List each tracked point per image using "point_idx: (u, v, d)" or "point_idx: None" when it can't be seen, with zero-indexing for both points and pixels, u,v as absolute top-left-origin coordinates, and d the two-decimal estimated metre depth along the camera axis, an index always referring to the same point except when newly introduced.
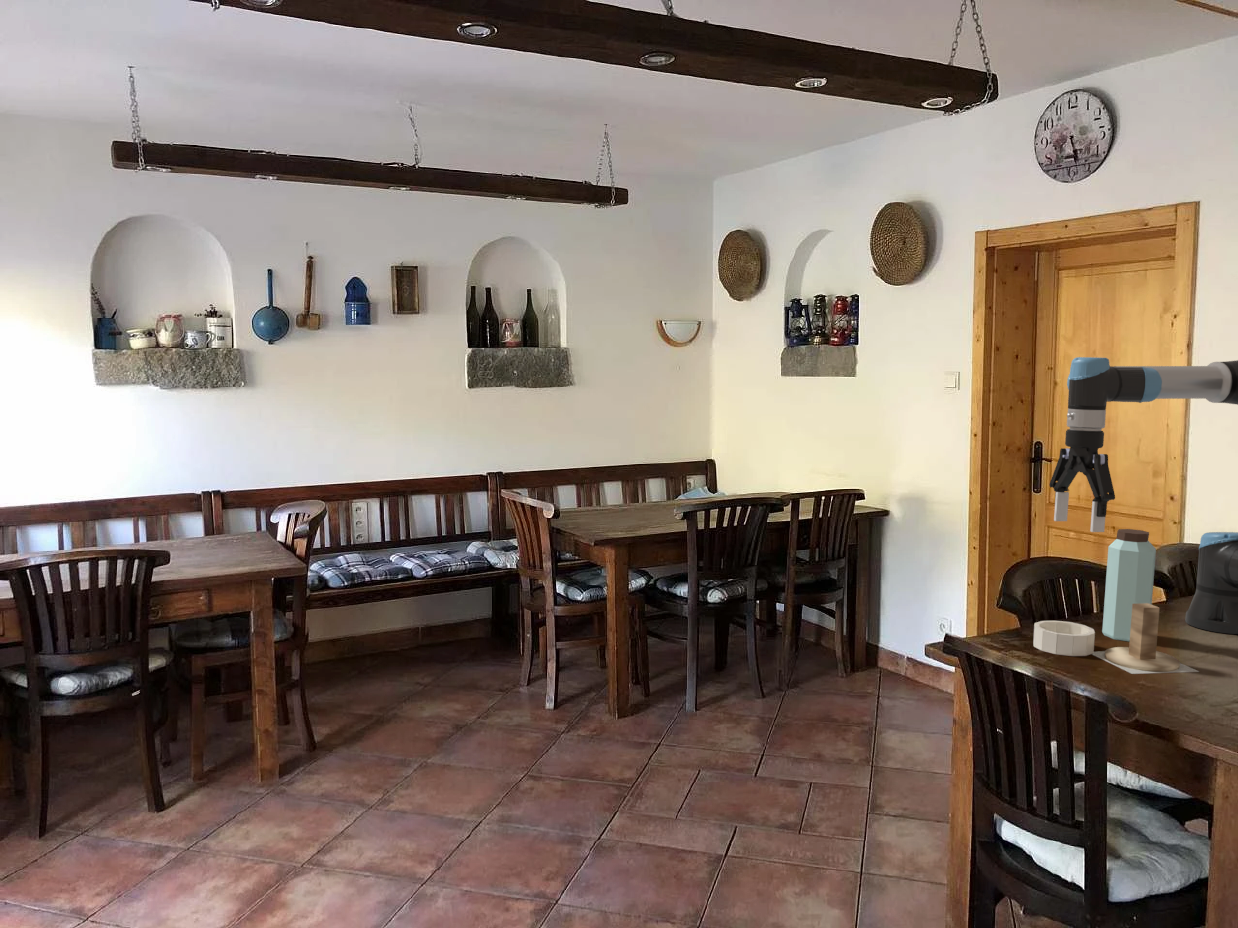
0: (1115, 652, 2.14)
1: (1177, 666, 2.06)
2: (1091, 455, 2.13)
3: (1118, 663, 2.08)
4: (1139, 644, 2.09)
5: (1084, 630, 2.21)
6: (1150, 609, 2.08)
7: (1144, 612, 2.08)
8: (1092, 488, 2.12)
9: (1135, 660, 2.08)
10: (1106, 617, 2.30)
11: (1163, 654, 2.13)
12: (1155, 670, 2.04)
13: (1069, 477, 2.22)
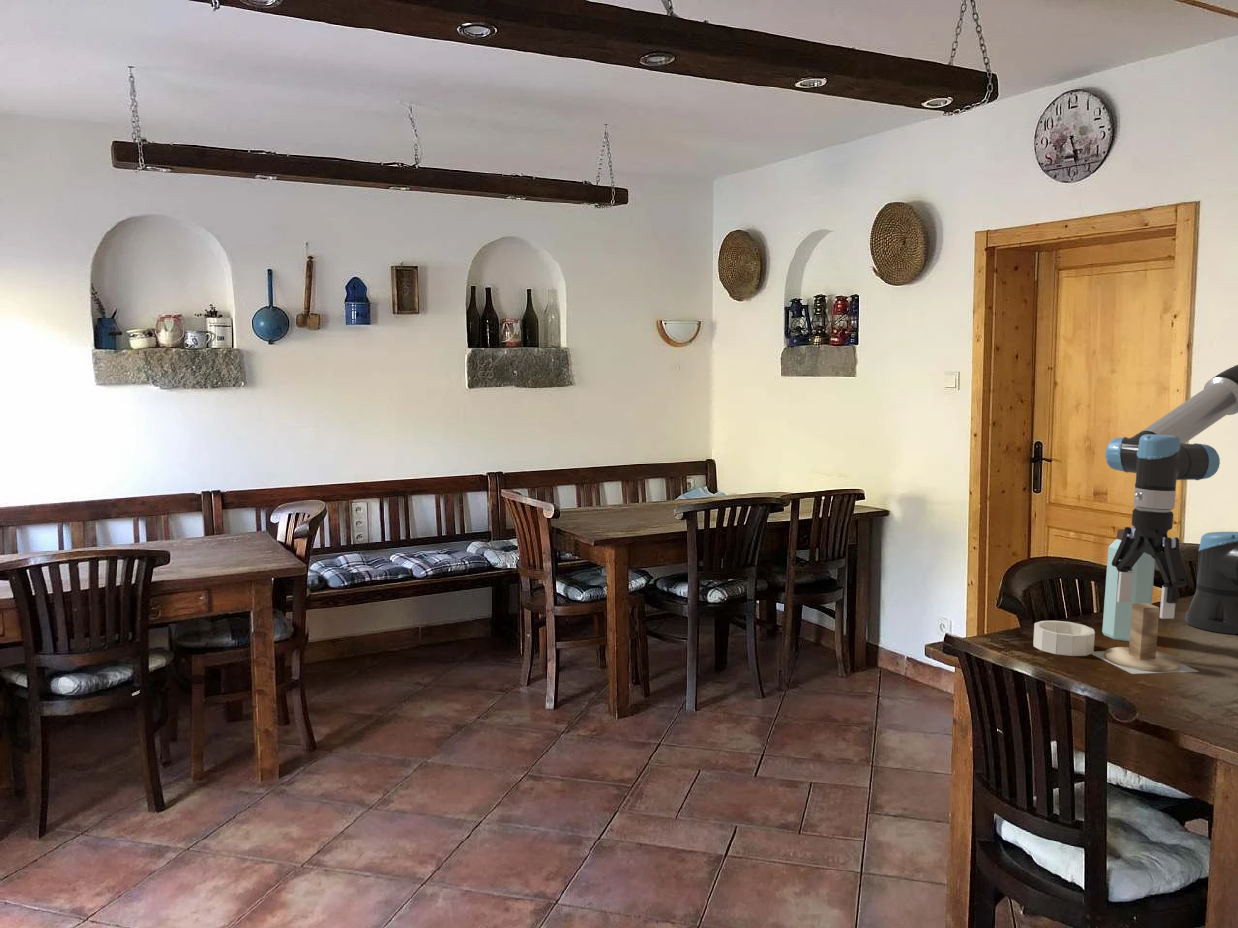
0: (1115, 652, 2.14)
1: (1177, 666, 2.06)
2: (1160, 538, 2.04)
3: (1118, 663, 2.08)
4: (1139, 644, 2.09)
5: (1084, 630, 2.21)
6: (1150, 609, 2.08)
7: (1144, 612, 2.08)
8: (1161, 572, 2.03)
9: (1135, 660, 2.08)
10: (1106, 617, 2.30)
11: (1163, 654, 2.13)
12: (1155, 670, 2.04)
13: (1134, 557, 2.13)
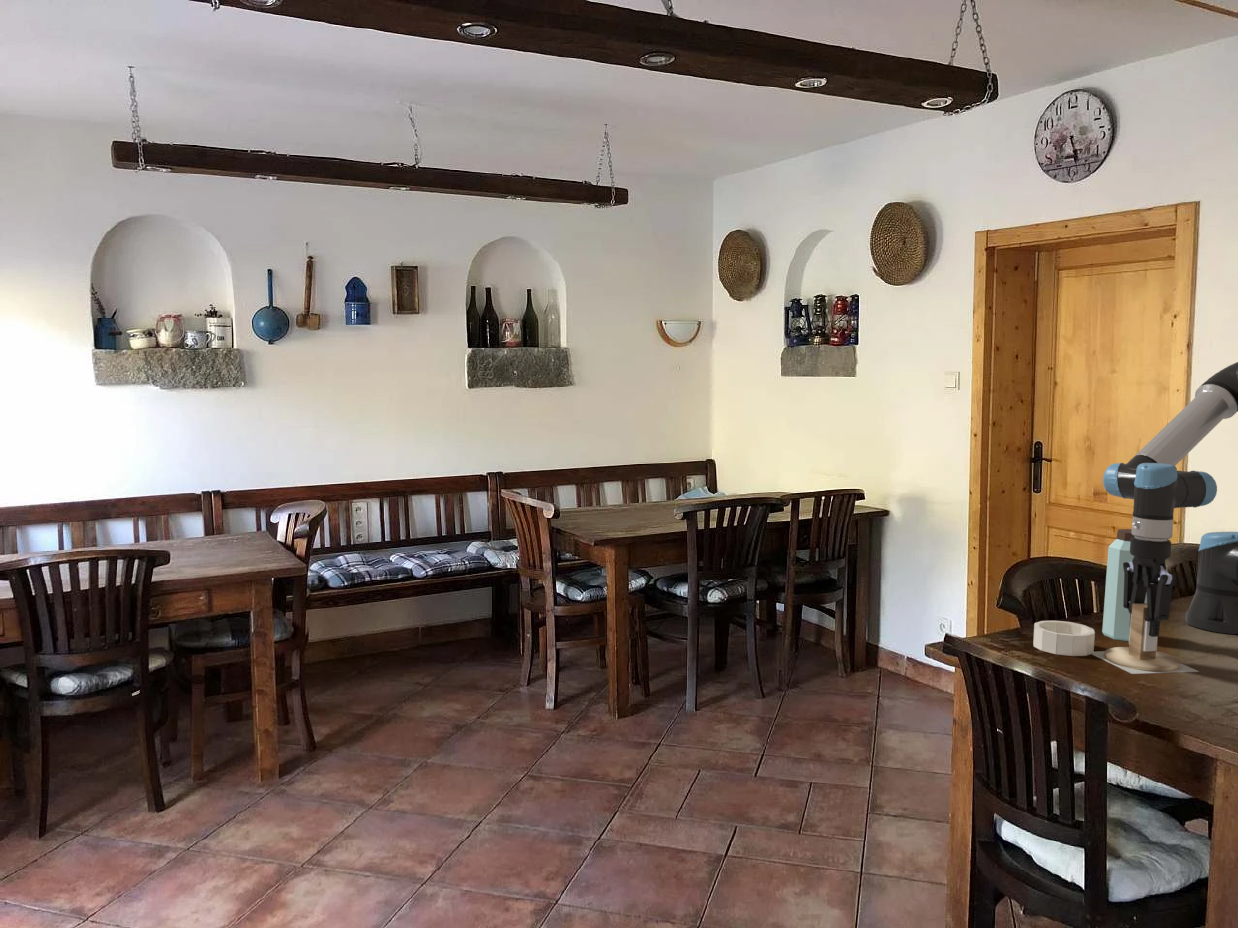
0: (1115, 652, 2.14)
1: (1177, 666, 2.06)
2: (1159, 569, 2.05)
3: (1118, 663, 2.08)
4: (1139, 644, 2.09)
5: (1084, 630, 2.21)
6: None
7: (1144, 612, 2.08)
8: (1148, 604, 2.07)
9: (1135, 660, 2.08)
10: (1106, 617, 2.30)
11: (1163, 654, 2.13)
12: (1155, 670, 2.04)
13: (1140, 592, 2.11)
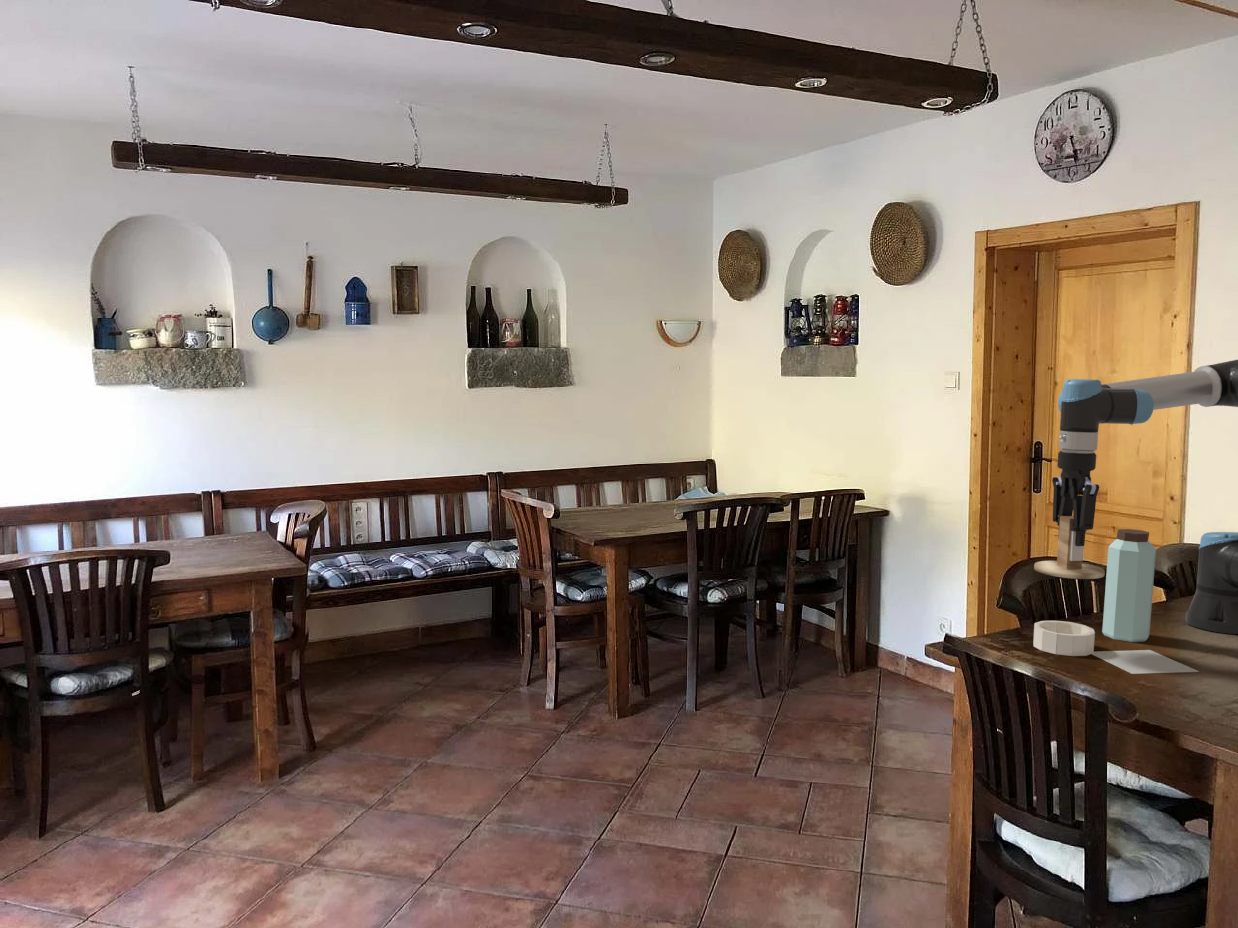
0: (1044, 564, 2.21)
1: (1101, 574, 2.13)
2: (1083, 480, 2.12)
3: (1045, 572, 2.15)
4: (1066, 554, 2.16)
5: (1084, 630, 2.21)
6: None
7: (1070, 523, 2.15)
8: (1074, 515, 2.15)
9: (1062, 569, 2.16)
10: (1106, 617, 2.30)
11: (1090, 565, 2.20)
12: (1080, 577, 2.11)
13: (1068, 505, 2.19)
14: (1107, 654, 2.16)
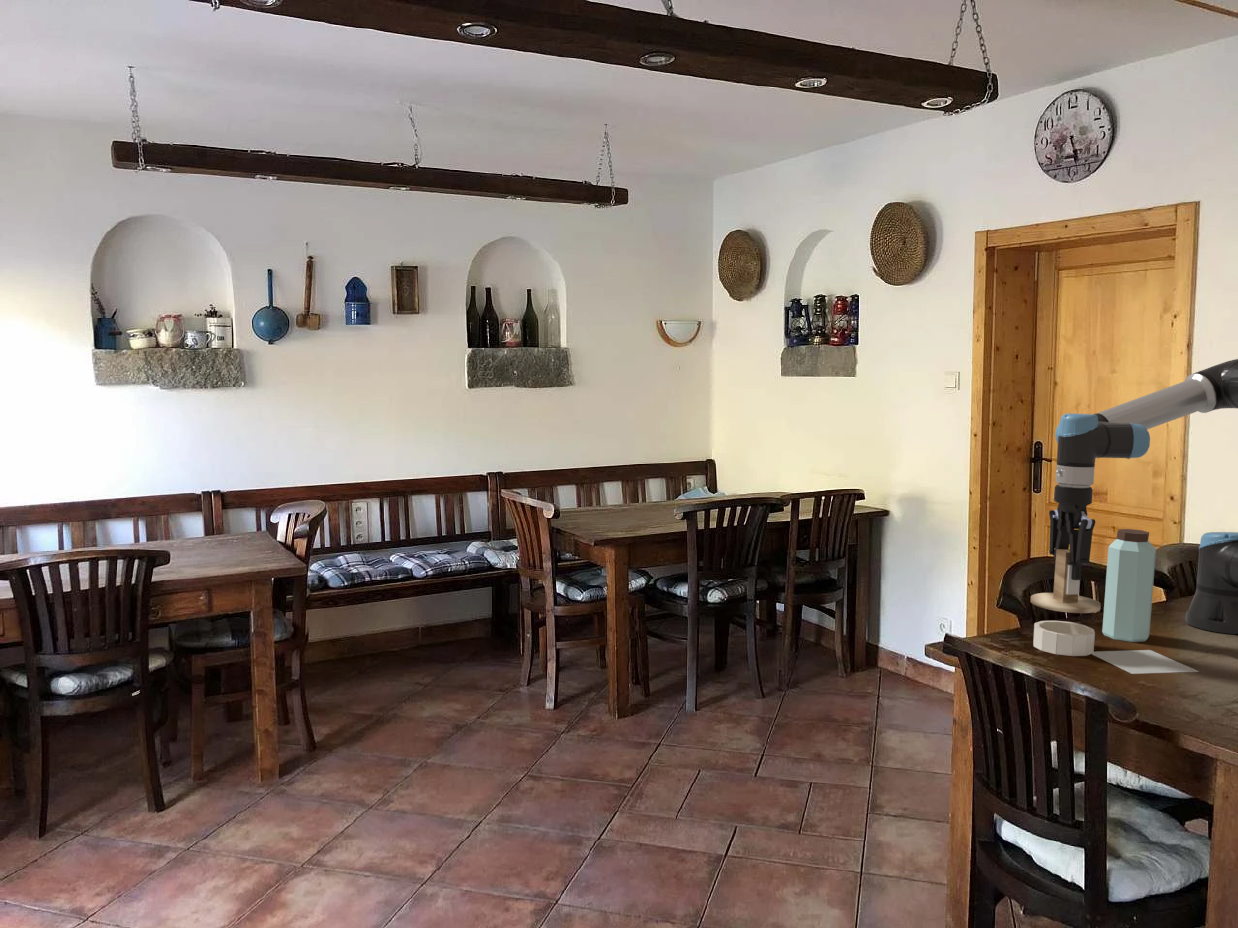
0: (1040, 597, 2.22)
1: (1097, 608, 2.14)
2: (1080, 515, 2.13)
3: (1041, 606, 2.16)
4: (1062, 587, 2.17)
5: (1084, 630, 2.21)
6: None
7: (1067, 557, 2.16)
8: (1070, 549, 2.16)
9: (1058, 603, 2.17)
10: (1106, 617, 2.30)
11: (1086, 598, 2.21)
12: (1075, 611, 2.12)
13: (1065, 538, 2.19)
14: (1107, 654, 2.16)
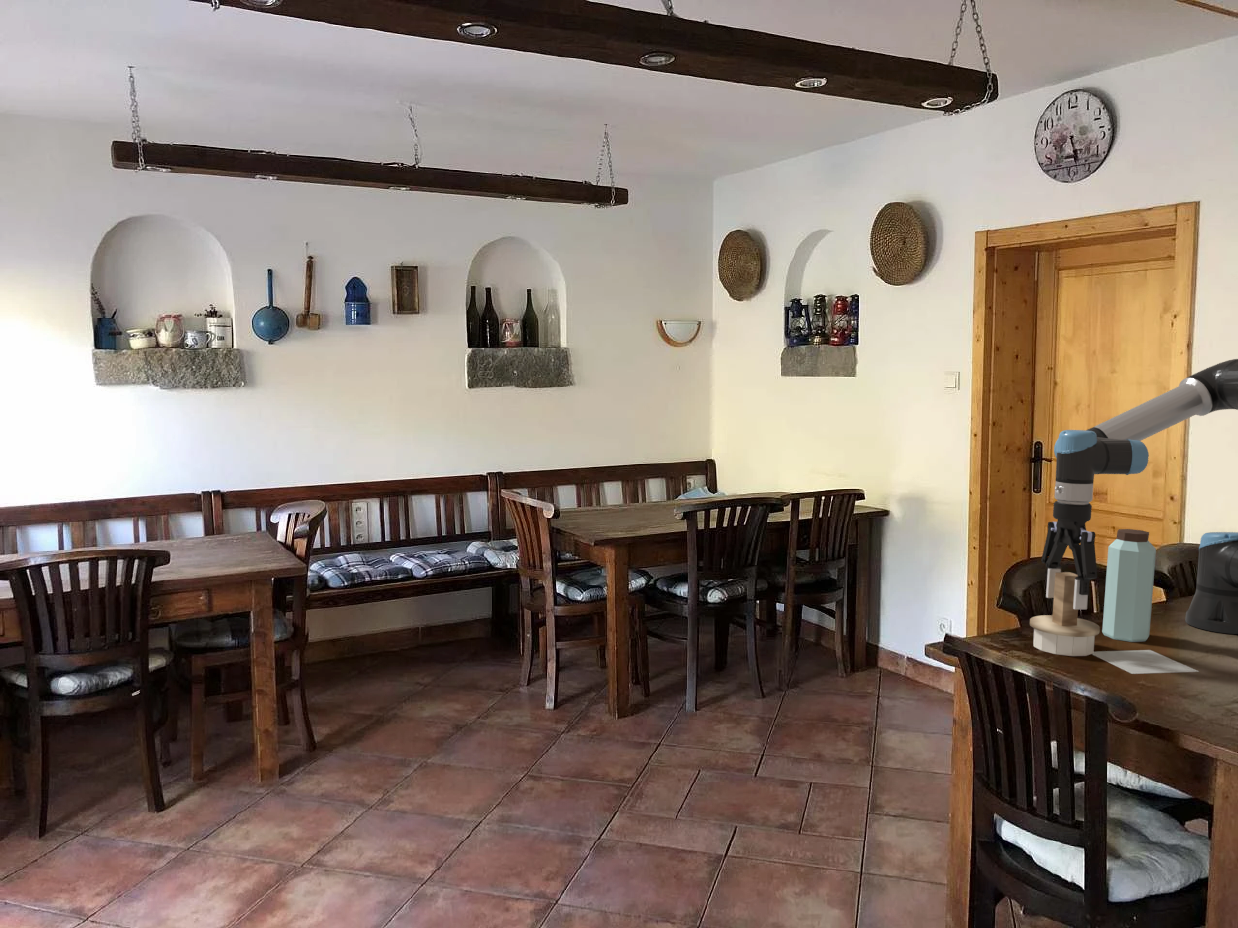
0: (1040, 619, 2.23)
1: (1096, 632, 2.15)
2: (1079, 530, 2.13)
3: (1040, 629, 2.17)
4: (1061, 611, 2.18)
5: None
6: (1071, 577, 2.17)
7: (1065, 580, 2.17)
8: (1075, 564, 2.14)
9: (1057, 626, 2.17)
10: (1106, 617, 2.30)
11: (1085, 621, 2.22)
12: (1075, 635, 2.13)
13: (1059, 551, 2.22)
14: (1107, 654, 2.16)
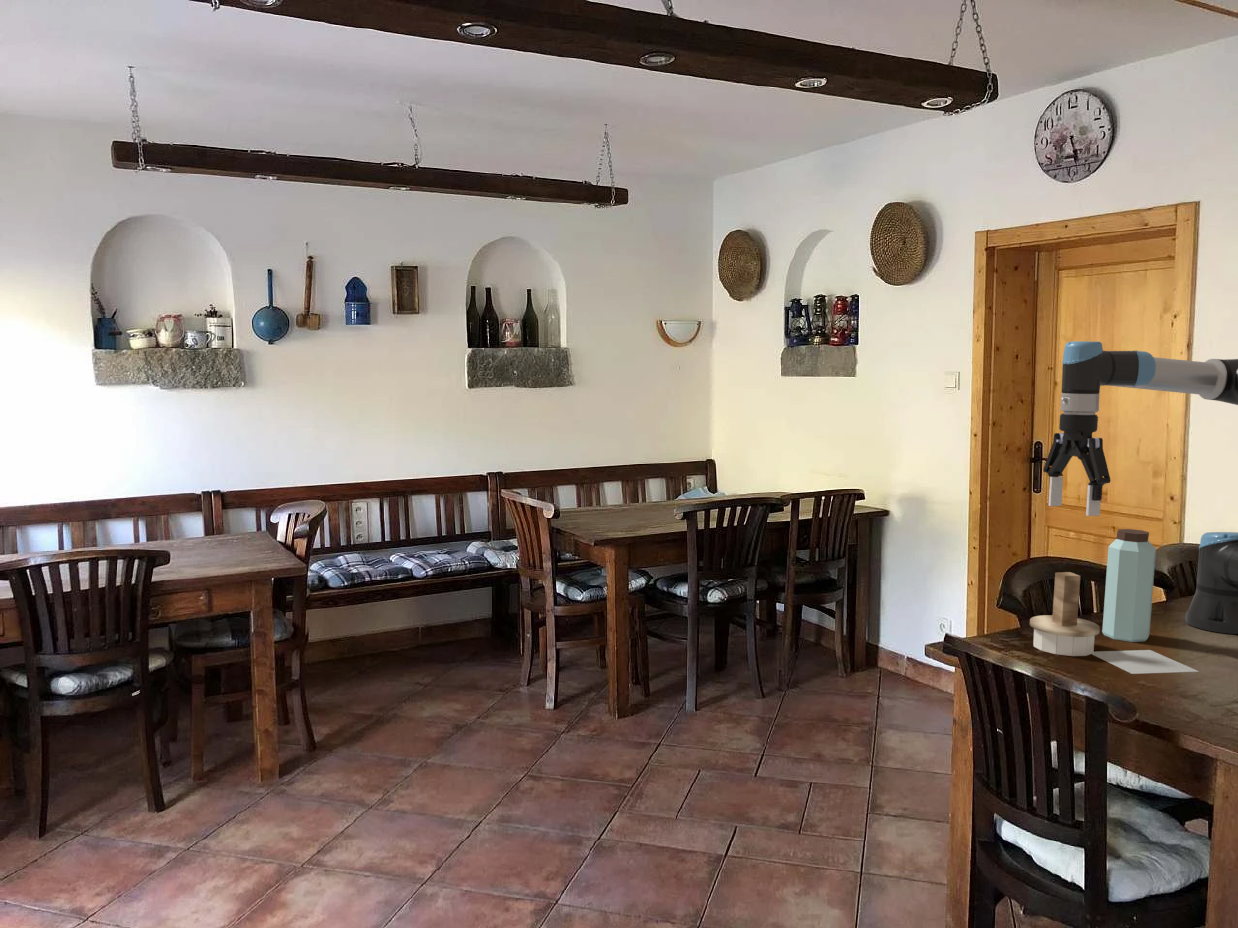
0: (1040, 619, 2.23)
1: (1096, 632, 2.15)
2: (1086, 439, 2.13)
3: (1040, 629, 2.17)
4: (1061, 611, 2.18)
5: None
6: (1071, 577, 2.17)
7: (1065, 580, 2.17)
8: (1087, 472, 2.12)
9: (1057, 626, 2.17)
10: (1106, 617, 2.30)
11: (1085, 621, 2.22)
12: (1075, 635, 2.13)
13: (1063, 462, 2.22)
14: (1107, 654, 2.16)
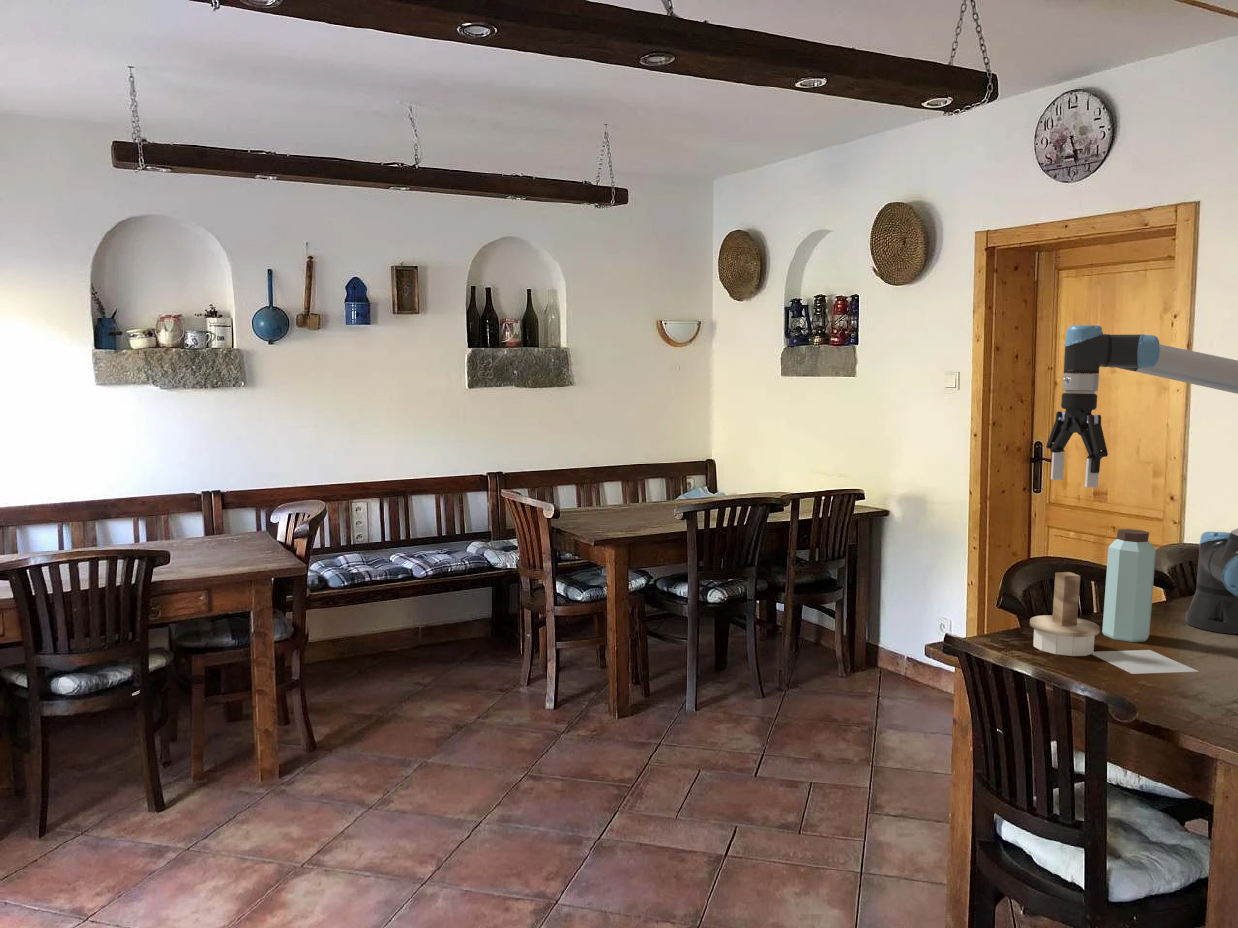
0: (1040, 619, 2.23)
1: (1096, 632, 2.15)
2: (1085, 416, 2.29)
3: (1040, 629, 2.17)
4: (1061, 611, 2.18)
5: None
6: (1071, 577, 2.17)
7: (1065, 580, 2.17)
8: (1086, 446, 2.28)
9: (1057, 626, 2.17)
10: (1106, 617, 2.30)
11: (1085, 621, 2.22)
12: (1075, 635, 2.13)
13: (1065, 438, 2.38)
14: (1107, 654, 2.16)
